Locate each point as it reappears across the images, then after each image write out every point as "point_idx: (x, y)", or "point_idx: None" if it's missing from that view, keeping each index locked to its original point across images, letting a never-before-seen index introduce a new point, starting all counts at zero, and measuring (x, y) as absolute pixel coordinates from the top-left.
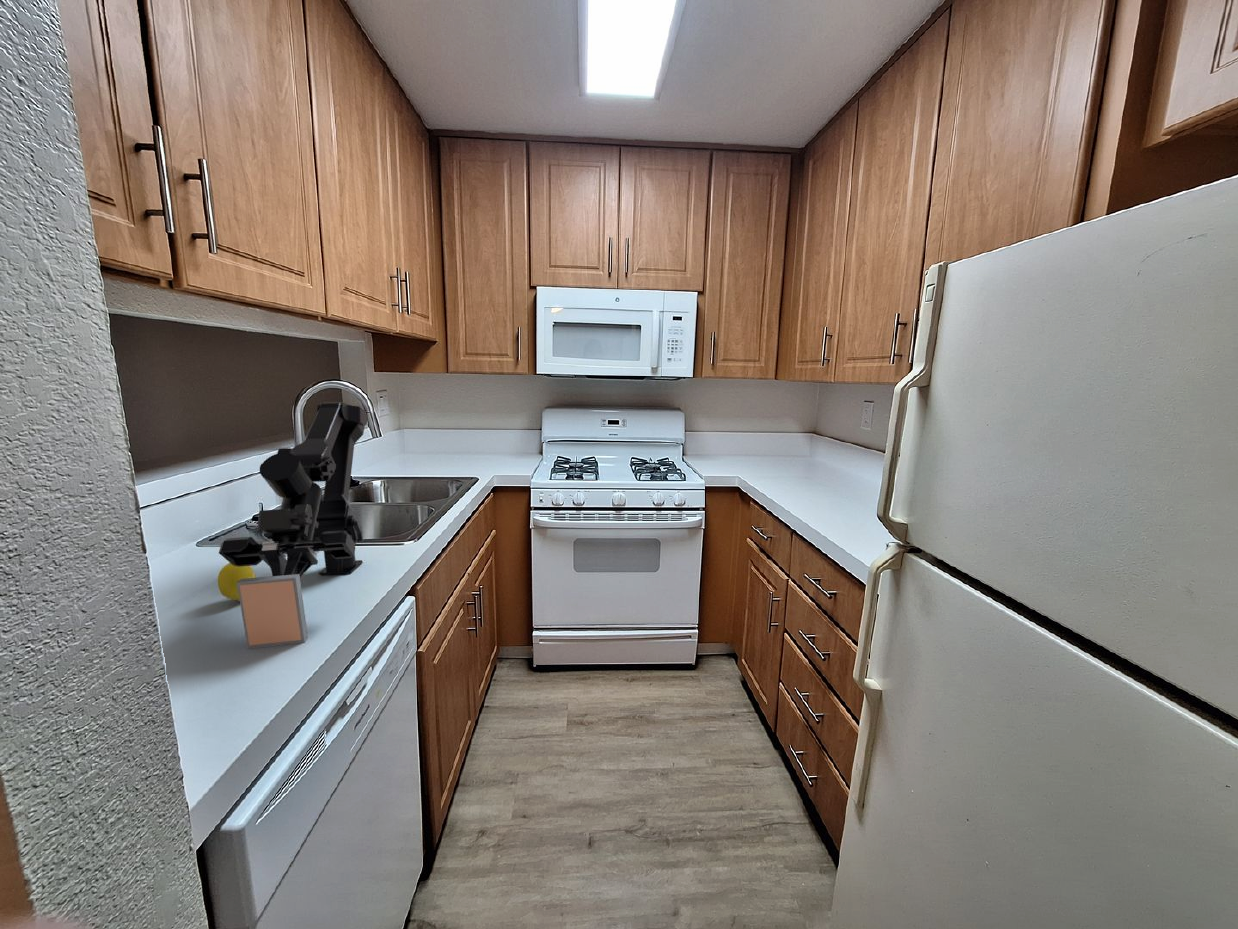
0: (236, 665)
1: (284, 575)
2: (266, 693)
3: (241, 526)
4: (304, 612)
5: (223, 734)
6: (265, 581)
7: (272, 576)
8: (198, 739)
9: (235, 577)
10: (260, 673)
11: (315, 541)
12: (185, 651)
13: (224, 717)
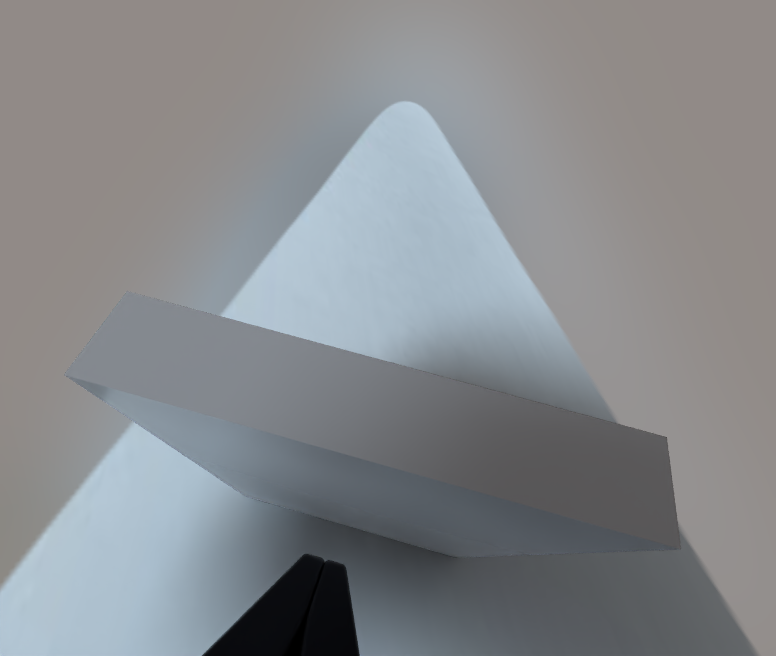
0: None
1: (216, 416)
2: (356, 228)
3: None
4: (210, 472)
5: (410, 155)
6: (398, 372)
7: (342, 446)
8: (447, 161)
9: None
10: (384, 318)
11: None
12: (708, 629)
13: (422, 194)
